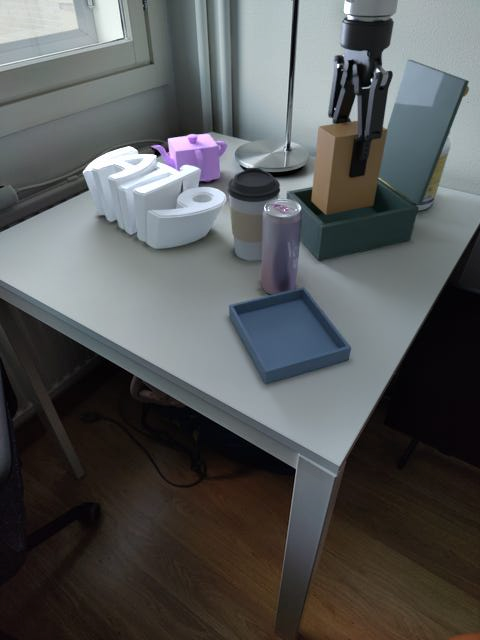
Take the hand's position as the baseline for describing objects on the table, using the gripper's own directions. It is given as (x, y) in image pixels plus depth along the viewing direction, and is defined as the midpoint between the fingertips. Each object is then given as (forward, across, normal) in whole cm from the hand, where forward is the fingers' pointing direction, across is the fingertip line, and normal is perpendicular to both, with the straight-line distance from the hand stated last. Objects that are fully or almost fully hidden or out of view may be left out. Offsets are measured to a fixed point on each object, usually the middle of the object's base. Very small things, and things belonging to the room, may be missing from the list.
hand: (346, 168), depth 83 cm
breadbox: (+14, 0, +2) cm, 14 cm away
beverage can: (+14, +12, -18) cm, 26 cm away
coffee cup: (+14, 0, -18) cm, 23 cm away
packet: (+7, 0, 0) cm, 7 cm away
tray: (+14, +24, -22) cm, 35 cm away
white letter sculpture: (+13, -20, -33) cm, 41 cm away
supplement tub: (+14, -7, +21) cm, 26 cm away
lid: (-4, 0, +13) cm, 14 cm away
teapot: (+13, -36, -20) cm, 44 cm away
